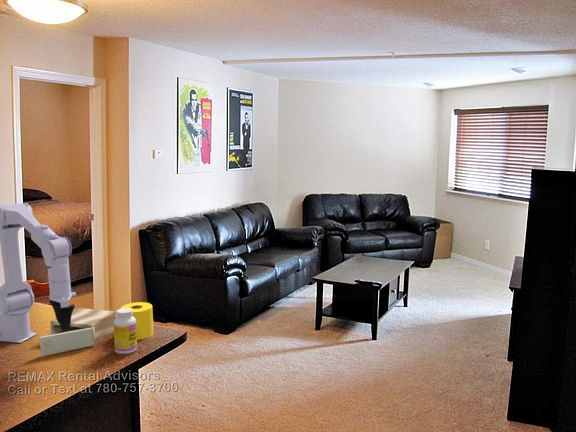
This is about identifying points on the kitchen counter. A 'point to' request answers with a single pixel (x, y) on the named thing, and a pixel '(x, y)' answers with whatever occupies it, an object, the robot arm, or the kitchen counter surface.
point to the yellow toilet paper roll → (142, 318)
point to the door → (67, 341)
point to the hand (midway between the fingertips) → (63, 325)
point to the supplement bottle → (125, 331)
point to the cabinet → (88, 322)
